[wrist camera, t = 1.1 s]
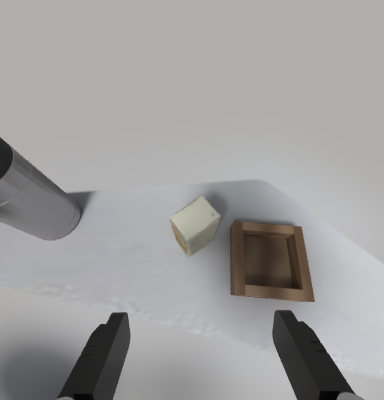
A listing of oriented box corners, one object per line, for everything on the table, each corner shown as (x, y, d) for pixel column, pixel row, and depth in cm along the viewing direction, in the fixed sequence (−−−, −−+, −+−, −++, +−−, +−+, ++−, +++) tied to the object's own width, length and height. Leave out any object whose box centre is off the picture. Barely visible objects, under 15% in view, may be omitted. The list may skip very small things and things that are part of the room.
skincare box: (200, 222, 40) (204, 192, 29) (214, 239, 38) (223, 215, 27) (174, 240, 38) (167, 216, 27) (187, 259, 36) (185, 241, 25)
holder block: (230, 294, 34) (235, 294, 30) (230, 228, 39) (234, 221, 35) (301, 301, 33) (314, 301, 30) (291, 233, 39) (301, 226, 35)
